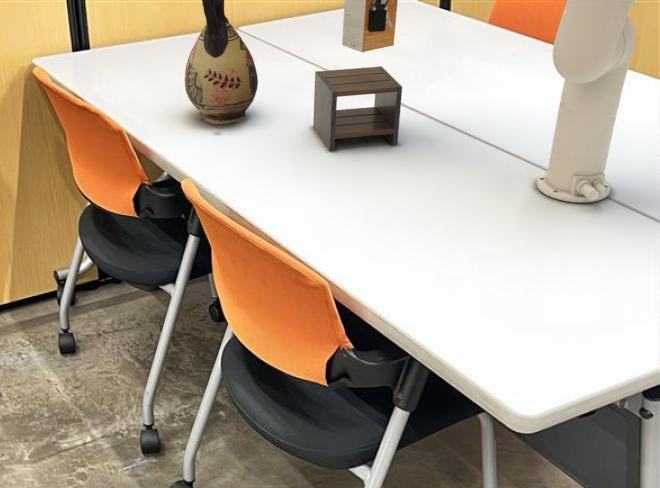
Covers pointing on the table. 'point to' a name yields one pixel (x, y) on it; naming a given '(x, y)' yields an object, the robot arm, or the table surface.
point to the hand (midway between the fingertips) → (369, 24)
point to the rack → (359, 119)
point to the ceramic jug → (220, 70)
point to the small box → (366, 26)
